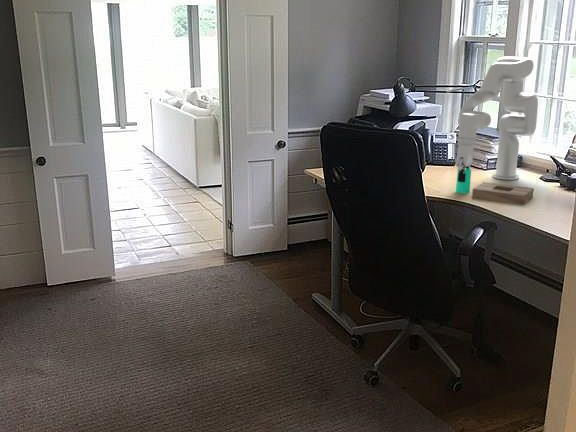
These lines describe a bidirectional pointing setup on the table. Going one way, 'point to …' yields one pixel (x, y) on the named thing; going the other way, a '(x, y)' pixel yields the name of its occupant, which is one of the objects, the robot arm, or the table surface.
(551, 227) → the table surface
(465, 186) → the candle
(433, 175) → the table surface
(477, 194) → the wooden socket board
